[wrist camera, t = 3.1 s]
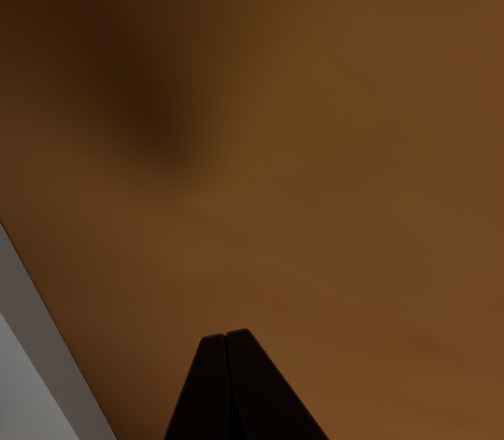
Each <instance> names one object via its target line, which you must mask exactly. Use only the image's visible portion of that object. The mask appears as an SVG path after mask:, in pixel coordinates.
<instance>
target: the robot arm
mask: <svg viewBox="0 0 504 440" xmlns="http://www.w3.org/2000/svg"><path fill="white" fill-rule="evenodd" d="M163 440H329V438H328V437H327V436H326V434H325V433H324V431H323V430H322V429H321V427H320V426H319V425H318V423H317V422H316V420H315V419H314V418H313V416H312V415H311V414H310V412H309V411H308V410H307V408H306V407H305V405H304V404H303V403H302V401H301V400H300V399H299V397H298V396H297V394H296V393H295V392H294V390H293V389H292V388H291V386H290V385H289V383H288V382H287V381H286V379H285V378H284V377H283V375H282V374H281V373H280V371H279V370H278V368H277V367H276V366H275V364H274V363H273V362H272V360H271V359H270V357H269V356H268V355H267V353H266V352H265V351H264V349H263V348H262V346H261V345H260V344H259V342H258V341H257V340H256V338H255V337H254V336H253V334H252V333H251V331H250V330H248V329H246V328H244V329H239V330H234V331H229V332H227V333H226V337H225V335H224V334H222V333H219V334H215V335H210V336H205V337H203V338H202V339H201V341H200V343H199V346H198V348H197V351H196V353H195V356H194V359H193V361H192V364H191V367H190V369H189V372H188V375H187V377H186V380H185V383H184V385H183V388H182V391H181V393H180V396H179V399H178V401H177V404H176V407H175V409H174V412H173V415H172V417H171V420H170V423H169V425H168V428H167V431H166V433H165V436H164V439H163Z"/></svg>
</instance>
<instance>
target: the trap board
mask: <svg viewBox="0 0 504 440" xmlns="http://www.w3.org/2000/svg"><path fill="white" fill-rule="evenodd" d="M0 440H117V438H116V436H115V435H114V433H113V431H112V429H111V427H110V425H109V423H108V422H107V420H106V418H105V416H104V414H103V412H102V410H101V409H100V407H99V405H98V403H97V401H96V399H95V397H94V396H93V394H92V392H91V390H90V388H89V386H88V384H87V383H86V381H85V379H84V377H83V375H82V373H81V371H80V370H79V368H78V366H77V364H76V362H75V360H74V358H73V357H72V355H71V353H70V351H69V349H68V347H67V345H66V344H65V342H64V340H63V338H62V336H61V334H60V332H59V331H58V329H57V327H56V325H55V323H54V321H53V319H52V317H51V316H50V314H49V312H48V310H47V308H46V306H45V304H44V303H43V301H42V299H41V297H40V295H39V293H38V291H37V290H36V288H35V286H34V284H33V282H32V280H31V278H30V277H29V275H28V273H27V271H26V269H25V267H24V265H23V264H22V262H21V260H20V258H19V256H18V254H17V252H16V251H15V249H14V247H13V245H12V243H11V241H10V239H9V238H8V236H7V234H6V232H5V230H4V228H3V226H2V225H1V223H0Z"/></svg>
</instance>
